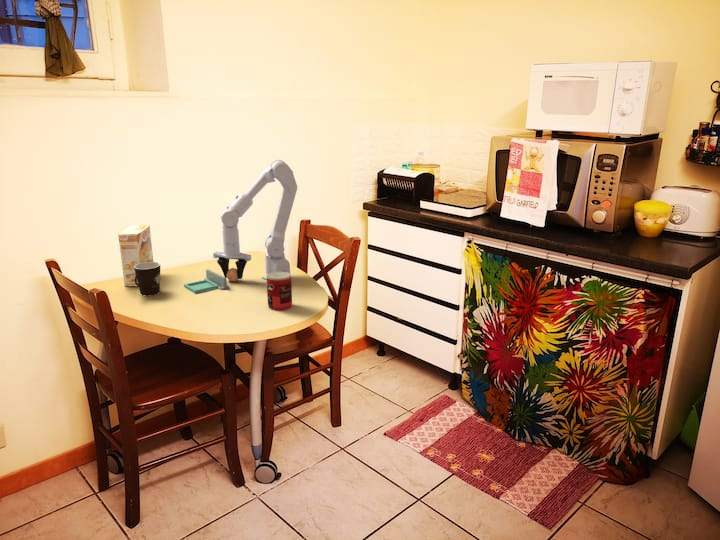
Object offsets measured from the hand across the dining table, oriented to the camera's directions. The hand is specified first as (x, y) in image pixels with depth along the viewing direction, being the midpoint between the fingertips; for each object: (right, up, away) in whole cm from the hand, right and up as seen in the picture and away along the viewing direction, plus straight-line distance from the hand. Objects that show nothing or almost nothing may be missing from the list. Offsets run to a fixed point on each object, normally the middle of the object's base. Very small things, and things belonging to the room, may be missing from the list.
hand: (233, 277), depth 202 cm
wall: (-6, -2, -3) cm, 7 cm away
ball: (0, -1, 0) cm, 1 cm away
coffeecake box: (-35, -1, +1) cm, 35 cm away
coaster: (-10, -3, -7) cm, 13 cm away
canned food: (+21, -9, -24) cm, 33 cm away
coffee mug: (-27, -6, -13) cm, 31 cm away
